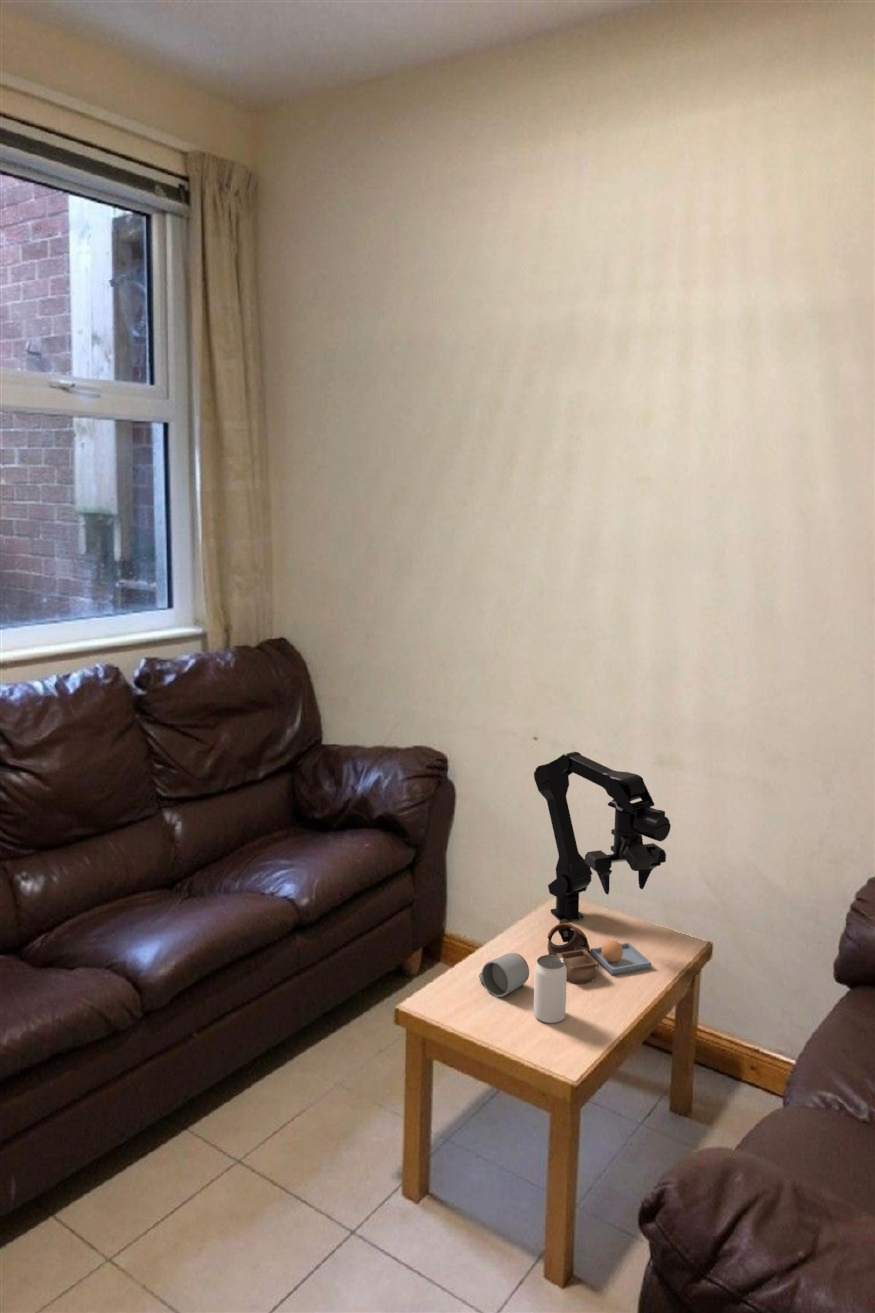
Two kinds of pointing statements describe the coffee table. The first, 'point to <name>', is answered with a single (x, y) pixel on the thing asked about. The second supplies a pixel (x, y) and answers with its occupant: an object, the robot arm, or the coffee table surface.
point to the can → (550, 989)
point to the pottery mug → (567, 938)
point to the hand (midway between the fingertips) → (624, 891)
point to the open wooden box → (579, 966)
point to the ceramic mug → (504, 974)
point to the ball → (612, 951)
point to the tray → (622, 960)
